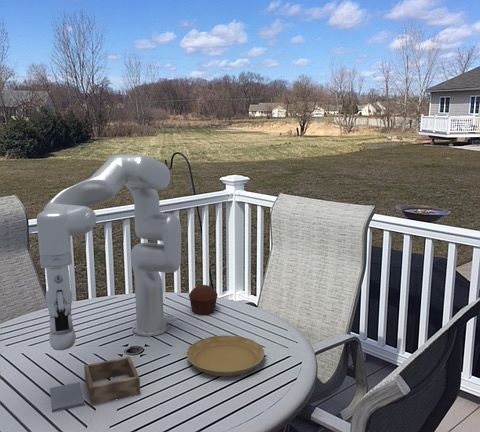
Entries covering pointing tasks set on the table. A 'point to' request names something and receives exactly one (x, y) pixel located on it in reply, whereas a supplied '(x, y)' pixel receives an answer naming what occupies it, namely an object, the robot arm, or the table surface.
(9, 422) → the table surface
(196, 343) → the plant saucer
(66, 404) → the slate tile
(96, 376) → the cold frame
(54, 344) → the plastic bottle
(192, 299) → the muffin
